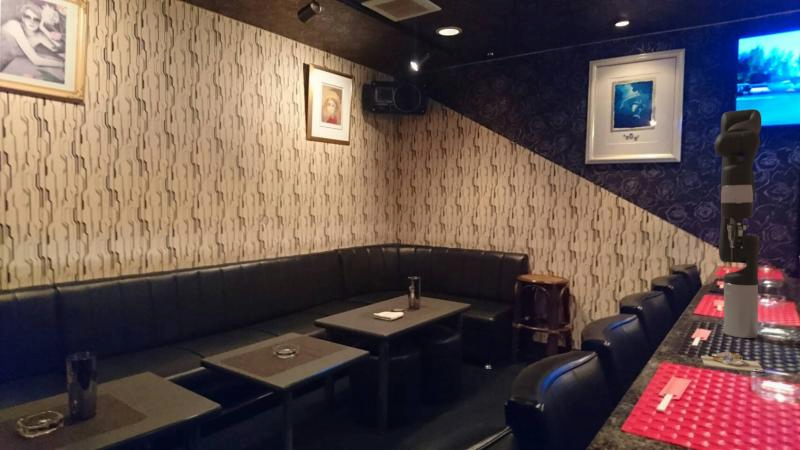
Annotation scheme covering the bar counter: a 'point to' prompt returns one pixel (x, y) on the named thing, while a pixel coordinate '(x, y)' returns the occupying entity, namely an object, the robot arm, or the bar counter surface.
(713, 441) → the bar counter surface
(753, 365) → the birch board
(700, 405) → the bar counter surface
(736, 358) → the ring
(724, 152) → the robot arm
